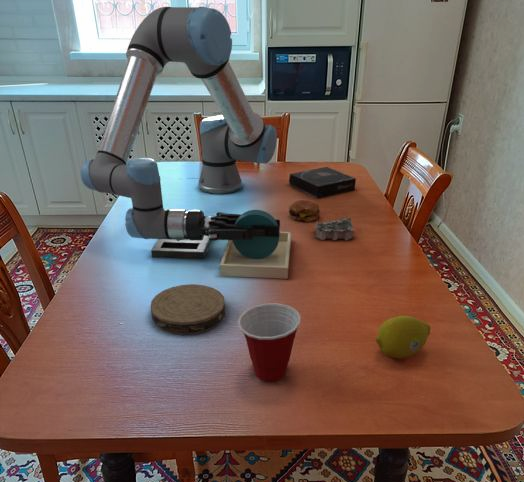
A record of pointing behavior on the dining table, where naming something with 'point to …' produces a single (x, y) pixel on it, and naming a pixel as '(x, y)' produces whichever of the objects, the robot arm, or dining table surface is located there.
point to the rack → (181, 248)
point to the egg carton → (335, 229)
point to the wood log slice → (188, 309)
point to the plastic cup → (270, 338)
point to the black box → (322, 182)
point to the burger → (304, 210)
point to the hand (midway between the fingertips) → (279, 228)
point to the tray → (258, 261)
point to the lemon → (402, 336)
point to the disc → (258, 244)
